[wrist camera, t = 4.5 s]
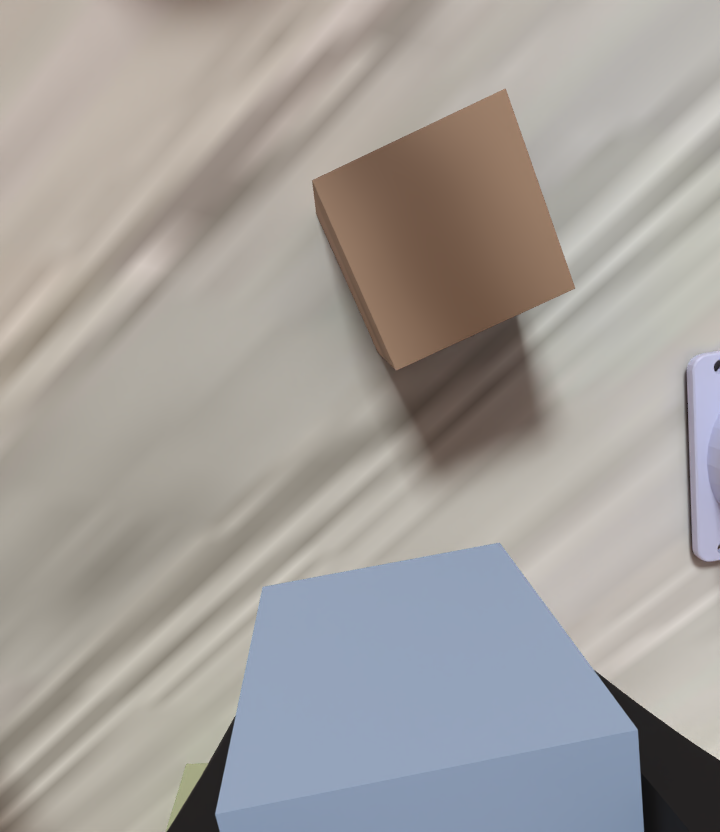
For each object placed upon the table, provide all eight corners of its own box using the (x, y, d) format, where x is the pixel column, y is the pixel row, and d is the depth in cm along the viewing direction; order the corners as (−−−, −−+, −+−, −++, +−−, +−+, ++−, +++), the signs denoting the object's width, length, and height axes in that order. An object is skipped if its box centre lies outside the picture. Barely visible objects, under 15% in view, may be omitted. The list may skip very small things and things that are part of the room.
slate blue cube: (499, 542, 11) (637, 730, 6) (523, 741, 12) (656, 1033, 7) (262, 586, 11) (214, 813, 6) (307, 784, 12) (297, 1111, 7)
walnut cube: (455, 148, 17) (505, 88, 12) (509, 291, 18) (575, 288, 14) (316, 214, 18) (311, 180, 13) (378, 352, 19) (396, 370, 14)
